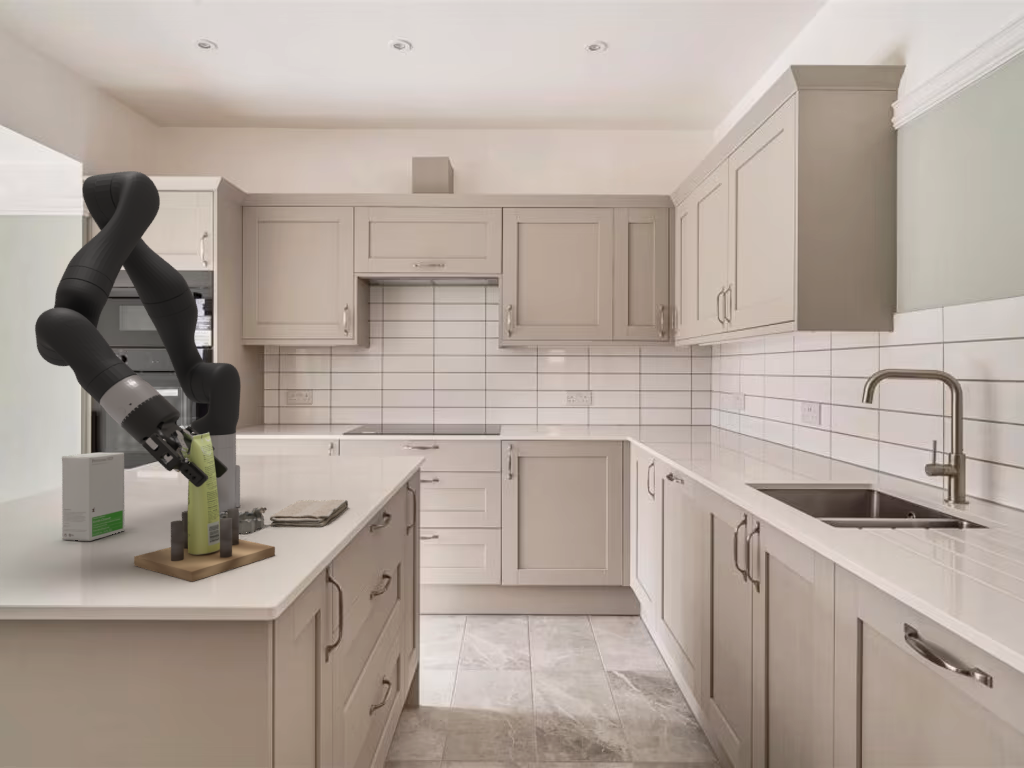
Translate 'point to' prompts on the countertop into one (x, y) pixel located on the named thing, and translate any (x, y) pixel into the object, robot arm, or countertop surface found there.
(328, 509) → the washcloth
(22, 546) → the countertop surface
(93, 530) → the skincare box
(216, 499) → the tube
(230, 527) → the cradle
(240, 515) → the egg carton
